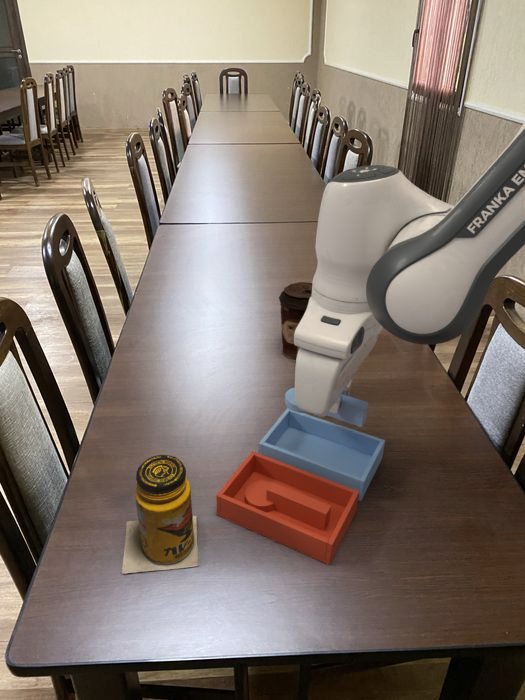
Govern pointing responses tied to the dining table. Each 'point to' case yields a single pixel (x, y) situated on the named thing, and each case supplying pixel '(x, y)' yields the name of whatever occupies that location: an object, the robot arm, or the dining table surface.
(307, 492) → the red bin
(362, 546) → the dining table surface
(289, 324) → the coffee cup
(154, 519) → the condiment
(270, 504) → the red spoon
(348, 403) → the blue spoon
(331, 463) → the blue bin
